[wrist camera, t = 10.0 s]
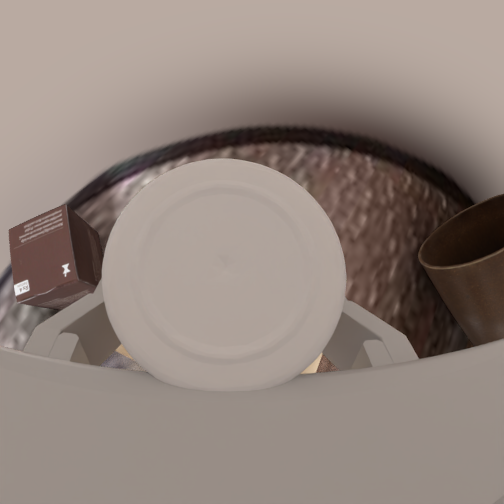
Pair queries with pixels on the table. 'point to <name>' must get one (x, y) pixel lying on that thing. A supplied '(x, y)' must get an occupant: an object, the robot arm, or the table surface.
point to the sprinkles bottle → (223, 277)
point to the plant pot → (471, 268)
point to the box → (55, 259)
